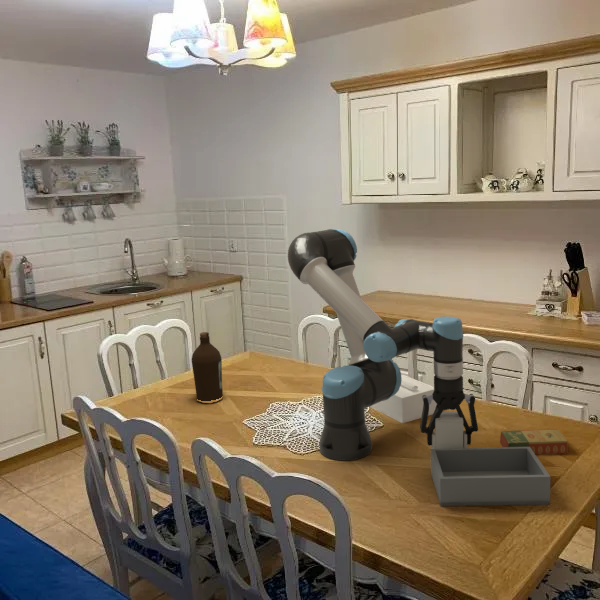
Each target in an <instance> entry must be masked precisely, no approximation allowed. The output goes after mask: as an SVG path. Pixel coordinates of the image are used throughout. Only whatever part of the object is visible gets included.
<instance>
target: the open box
mask: <svg viewBox="0 0 600 600" xmlns="http://www.w3.org/2000/svg"><path fill="white" fill-rule="evenodd" d="M430 475H431V479H432V482H433V486H434V489H435V491H436V496H437V498H438V502H439V505H440V507H474V506H477V507H478V506H481V507H482V506H483V507H485V506H486V507H488V506H489V507H490V506H533V505H534V506H535V505H536V506H537V505H538V506H539V505H540V506H541V505H543V506H546V505H547V506H548V505H551V475H550V474H549V472H548V471H547V470H546V468H545V466H544V465H543V463H542V462H541V461H540V459H539V457H538V456H537V455H535V454H534V452H533V451H532V449H531V448H530V447H503V446H501V447H499V446H498V447H467V448H447V449H431V448H430Z"/></svg>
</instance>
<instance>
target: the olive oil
mask: <svg viewBox="0 0 600 600" xmlns="http://www.w3.org/2000/svg"><path fill="white" fill-rule="evenodd" d="M210 340H211V339H210V334H209V332H207V331H204V332H203V331H202V332H200V333H199V341H200V342H199V345H198V346H197V347H196V349H195V350H194V351H193V352H192V355H191V365H192V373H193V379H194V380H193V381H194V387H195V394H196V395H195V396H196V400H197V399H198V400H201V401H211V400H216V399H219V398H221V397H222V396H223V397H224V392H223V366H222V365H223V364H222V363H223V362H222V355H221V352H220V351H219V350H218V348H216V347H215V346H214V345H213V344H212V343H211V342H210Z"/></svg>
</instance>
